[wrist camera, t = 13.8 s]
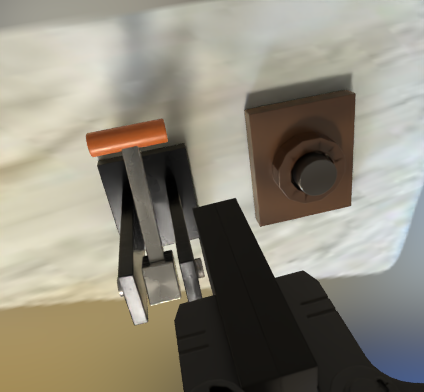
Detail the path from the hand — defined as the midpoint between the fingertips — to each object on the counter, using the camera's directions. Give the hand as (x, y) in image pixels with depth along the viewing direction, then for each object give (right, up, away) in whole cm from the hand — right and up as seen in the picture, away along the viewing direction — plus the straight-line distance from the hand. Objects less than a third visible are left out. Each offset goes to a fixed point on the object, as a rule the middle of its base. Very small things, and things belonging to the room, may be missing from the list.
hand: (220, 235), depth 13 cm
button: (+9, +4, +22) cm, 24 cm away
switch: (-5, 0, +14) cm, 15 cm away
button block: (+8, +5, +25) cm, 27 cm away
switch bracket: (-6, +1, +24) cm, 25 cm away
